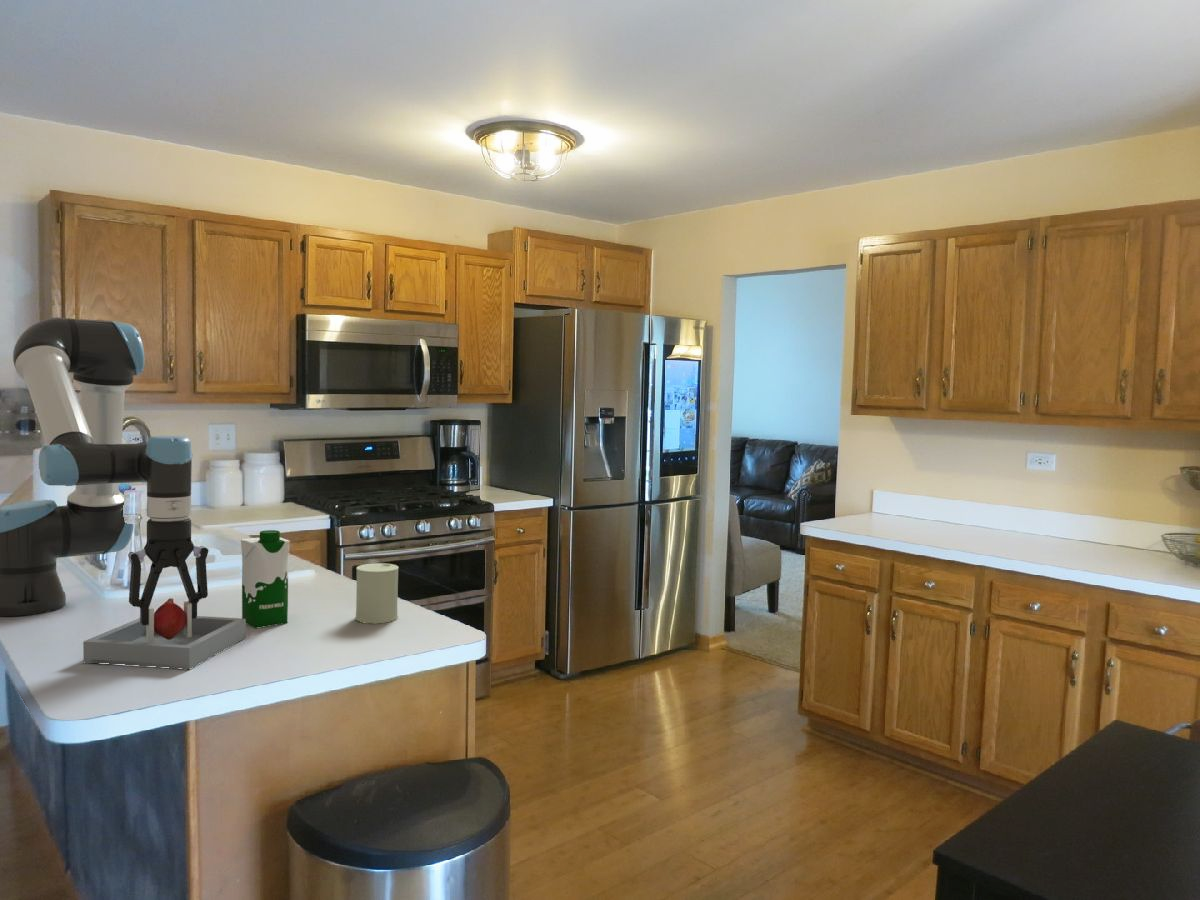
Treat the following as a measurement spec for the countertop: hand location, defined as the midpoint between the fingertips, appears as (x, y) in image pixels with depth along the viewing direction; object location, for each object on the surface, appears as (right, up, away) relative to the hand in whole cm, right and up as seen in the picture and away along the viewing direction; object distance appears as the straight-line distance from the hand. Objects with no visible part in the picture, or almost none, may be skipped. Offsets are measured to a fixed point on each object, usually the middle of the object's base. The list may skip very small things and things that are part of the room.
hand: (169, 638), depth 162 cm
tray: (0, -2, 0) cm, 2 cm away
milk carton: (+10, -1, +21) cm, 23 cm away
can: (+32, -2, +27) cm, 42 cm away
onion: (0, 0, 0) cm, 0 cm away
